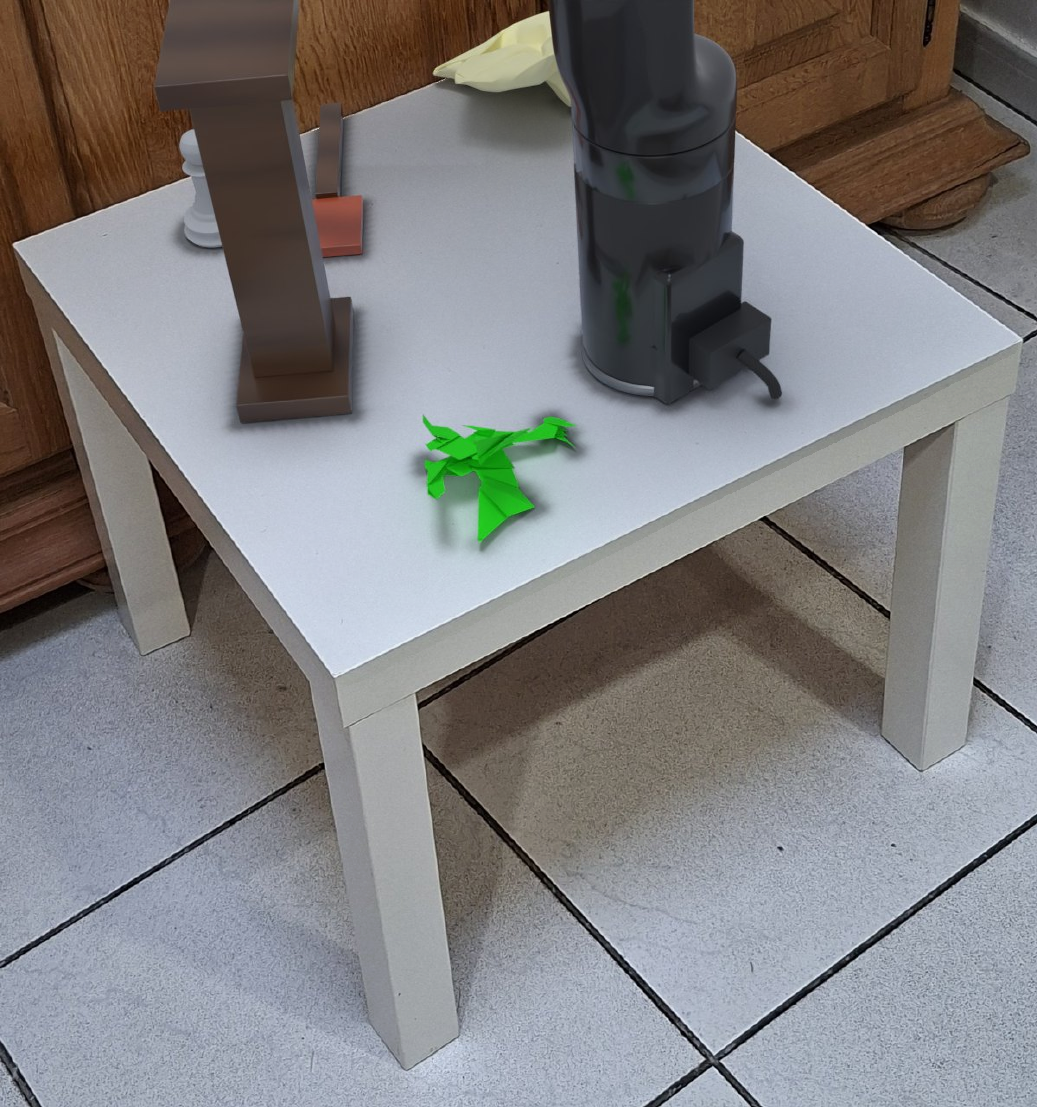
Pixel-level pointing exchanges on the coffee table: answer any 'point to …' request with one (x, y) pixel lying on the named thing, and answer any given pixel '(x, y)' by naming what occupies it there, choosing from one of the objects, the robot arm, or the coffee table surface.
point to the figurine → (486, 466)
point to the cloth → (510, 60)
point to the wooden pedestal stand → (261, 201)
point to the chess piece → (198, 197)
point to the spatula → (335, 191)
